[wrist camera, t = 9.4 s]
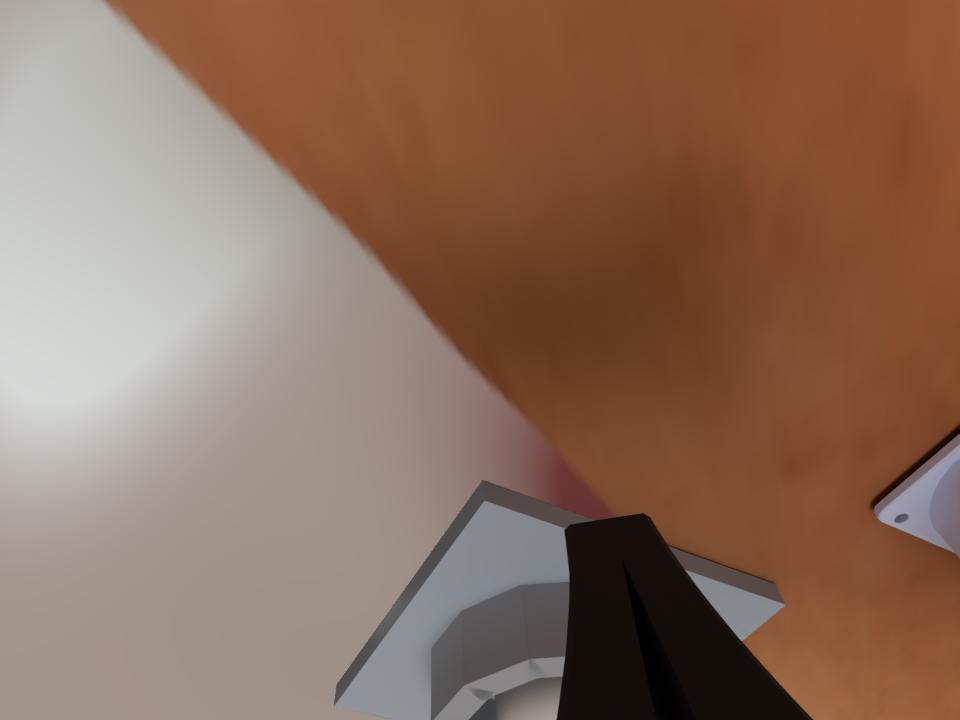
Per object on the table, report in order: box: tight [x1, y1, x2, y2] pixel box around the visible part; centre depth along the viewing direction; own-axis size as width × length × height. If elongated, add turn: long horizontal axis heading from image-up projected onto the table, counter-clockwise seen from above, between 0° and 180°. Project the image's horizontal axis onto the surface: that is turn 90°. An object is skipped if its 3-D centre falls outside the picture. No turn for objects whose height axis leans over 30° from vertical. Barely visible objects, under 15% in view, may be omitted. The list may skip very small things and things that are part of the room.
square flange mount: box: [334, 480, 786, 720], centre depth 26 cm, size 14×14×4 cm
